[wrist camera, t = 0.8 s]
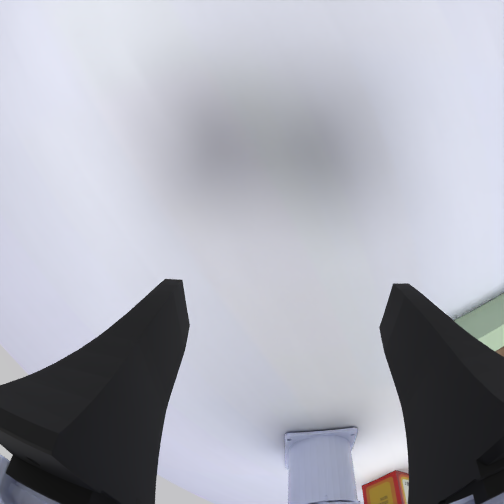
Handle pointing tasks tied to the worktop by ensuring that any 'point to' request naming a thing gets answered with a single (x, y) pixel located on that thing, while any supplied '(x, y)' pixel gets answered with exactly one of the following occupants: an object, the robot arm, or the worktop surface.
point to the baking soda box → (387, 489)
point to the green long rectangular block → (486, 323)
